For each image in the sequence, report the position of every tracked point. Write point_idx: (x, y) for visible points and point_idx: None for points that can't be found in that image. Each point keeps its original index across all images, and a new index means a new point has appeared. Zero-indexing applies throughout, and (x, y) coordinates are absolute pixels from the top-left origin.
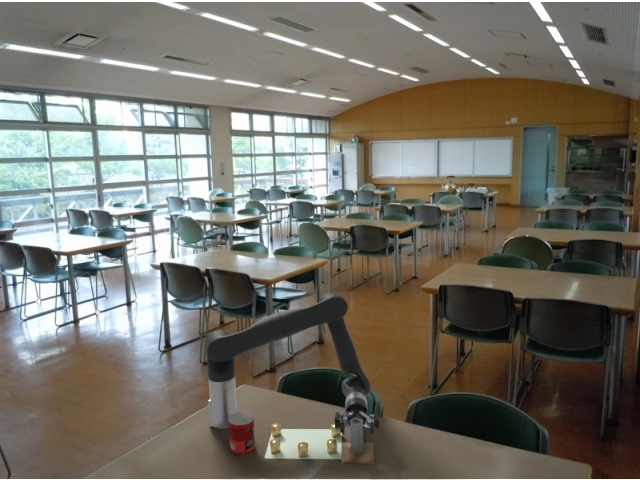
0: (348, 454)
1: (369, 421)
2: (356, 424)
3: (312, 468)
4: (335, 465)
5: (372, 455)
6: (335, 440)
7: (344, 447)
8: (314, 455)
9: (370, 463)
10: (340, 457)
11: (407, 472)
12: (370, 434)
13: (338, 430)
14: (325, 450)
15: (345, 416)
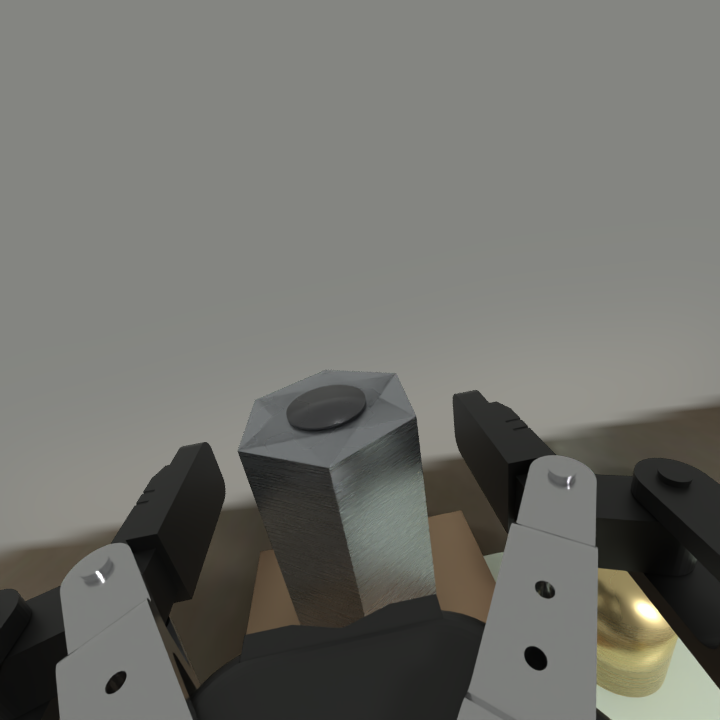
0: (437, 579)
1: (138, 566)
2: (327, 374)
3: (592, 463)
4: (489, 509)
5: (260, 605)
6: (598, 599)
7: None
8: None
9: None
10: (492, 571)
11: None
12: (219, 488)
13: None
14: (684, 651)
15: (576, 554)
